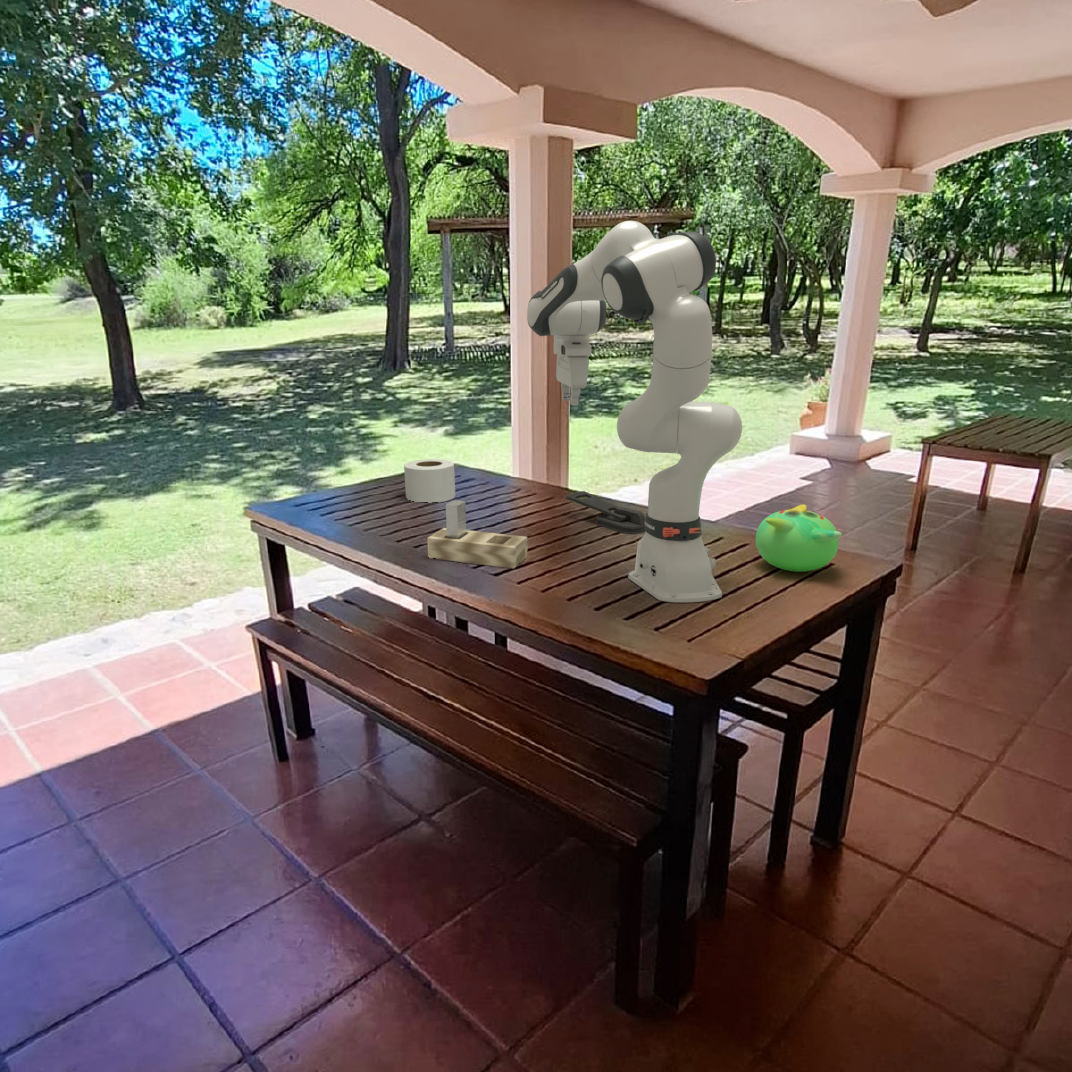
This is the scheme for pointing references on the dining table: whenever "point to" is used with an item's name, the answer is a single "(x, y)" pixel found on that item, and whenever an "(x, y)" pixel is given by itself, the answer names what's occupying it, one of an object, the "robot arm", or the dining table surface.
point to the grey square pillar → (456, 519)
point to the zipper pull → (612, 514)
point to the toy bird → (797, 540)
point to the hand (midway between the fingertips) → (570, 402)
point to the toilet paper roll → (429, 480)
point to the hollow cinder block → (479, 548)
